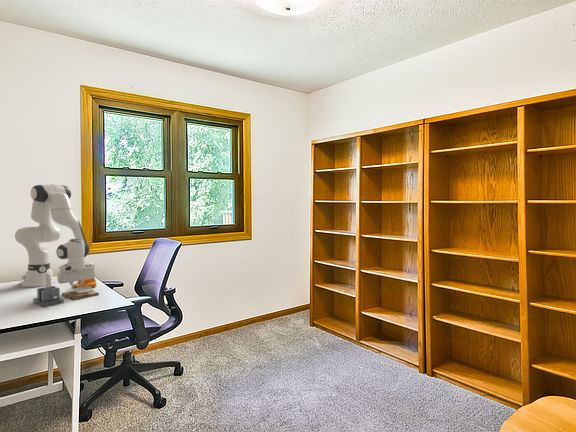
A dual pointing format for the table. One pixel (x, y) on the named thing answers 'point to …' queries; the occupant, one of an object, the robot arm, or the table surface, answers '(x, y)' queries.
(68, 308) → the table surface
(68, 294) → the board
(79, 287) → the loop
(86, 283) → the orange rounded piece
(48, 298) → the vise
